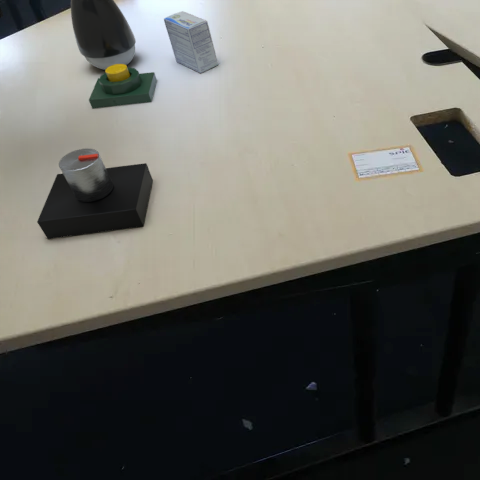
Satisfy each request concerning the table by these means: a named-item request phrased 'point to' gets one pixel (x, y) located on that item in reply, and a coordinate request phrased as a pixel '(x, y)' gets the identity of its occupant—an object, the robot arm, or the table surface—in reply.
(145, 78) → the button housing
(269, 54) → the table surface
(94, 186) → the knob
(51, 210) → the dial panel
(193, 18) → the medicine box
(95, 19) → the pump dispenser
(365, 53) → the table surface
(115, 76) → the yellow push button
